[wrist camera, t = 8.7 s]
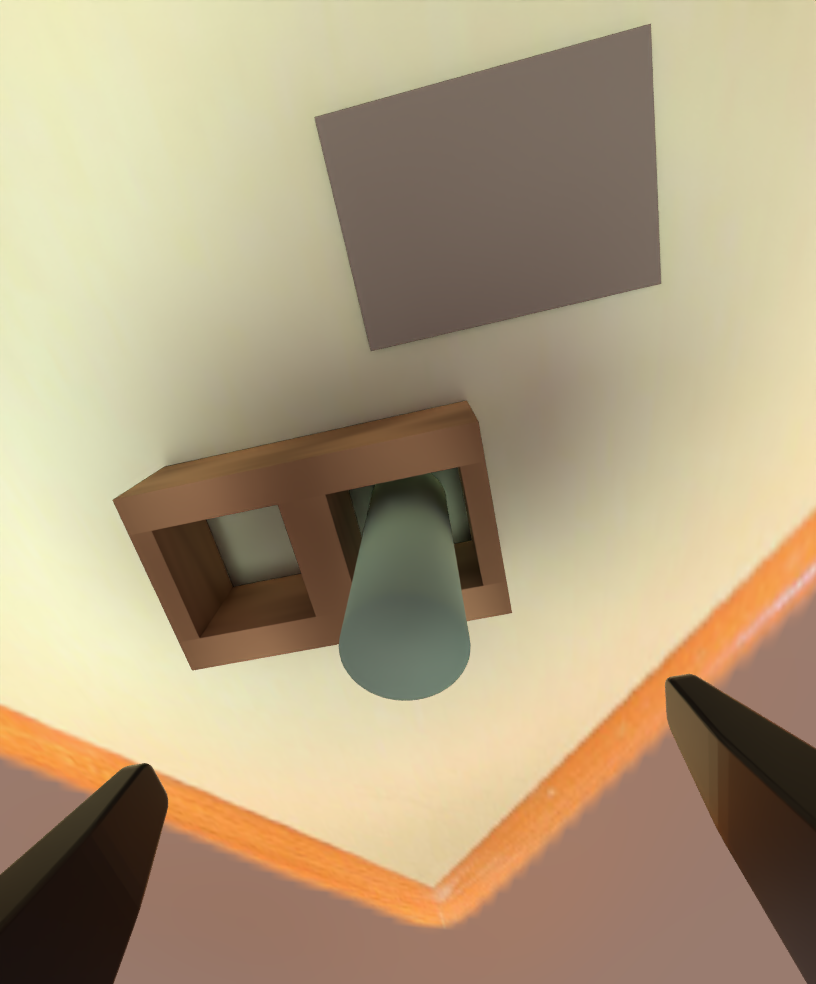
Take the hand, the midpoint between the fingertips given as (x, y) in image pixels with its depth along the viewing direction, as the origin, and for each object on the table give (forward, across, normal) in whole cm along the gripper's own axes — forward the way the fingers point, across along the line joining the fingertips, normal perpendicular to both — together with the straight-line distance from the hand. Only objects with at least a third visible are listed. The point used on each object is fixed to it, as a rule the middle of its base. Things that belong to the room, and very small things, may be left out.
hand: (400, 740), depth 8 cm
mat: (+12, -5, -9) cm, 16 cm away
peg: (+12, 0, 0) cm, 12 cm away
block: (+12, +3, 0) cm, 12 cm away
